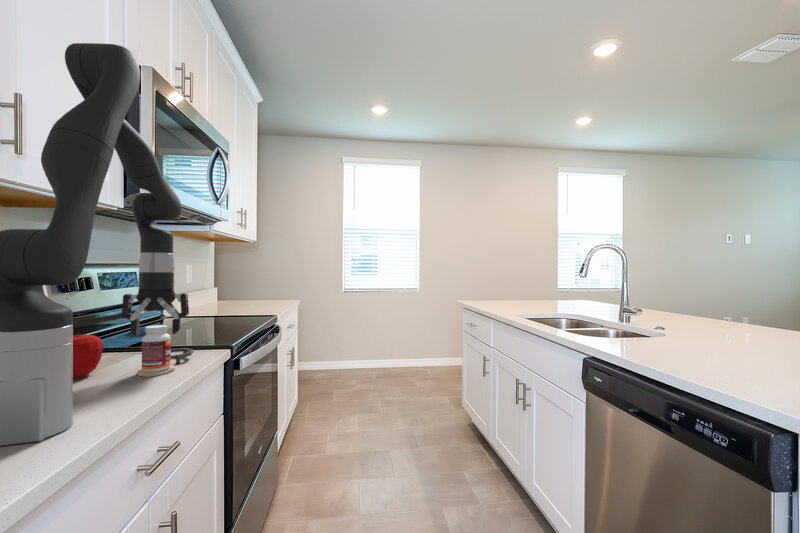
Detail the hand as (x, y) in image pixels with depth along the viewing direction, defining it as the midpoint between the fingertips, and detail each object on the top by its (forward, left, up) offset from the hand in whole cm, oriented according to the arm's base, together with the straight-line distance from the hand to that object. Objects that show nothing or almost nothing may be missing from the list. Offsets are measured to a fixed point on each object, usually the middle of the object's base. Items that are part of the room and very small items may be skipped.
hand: (156, 334), depth 94 cm
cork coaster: (0, 0, -10) cm, 10 cm away
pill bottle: (0, 0, -9) cm, 9 cm away
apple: (+1, +17, -10) cm, 20 cm away
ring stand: (+11, -1, -10) cm, 15 cm away
